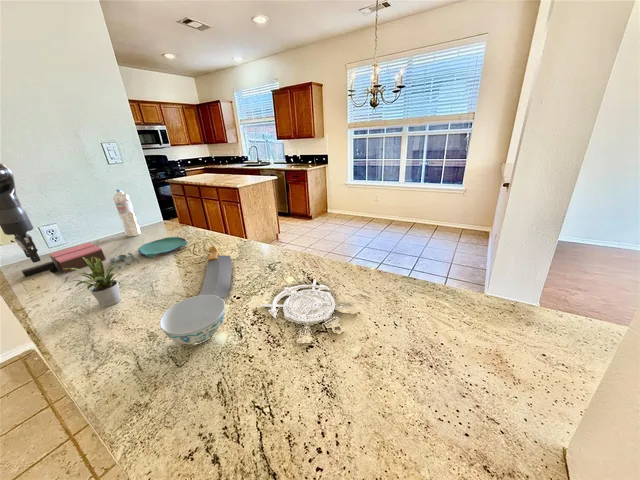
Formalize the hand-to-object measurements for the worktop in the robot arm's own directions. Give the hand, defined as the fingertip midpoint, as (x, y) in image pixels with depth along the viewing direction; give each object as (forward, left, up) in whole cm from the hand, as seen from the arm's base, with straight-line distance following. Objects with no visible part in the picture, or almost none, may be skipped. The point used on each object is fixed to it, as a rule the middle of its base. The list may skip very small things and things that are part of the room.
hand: (33, 259), depth 102 cm
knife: (+7, 0, -7) cm, 10 cm away
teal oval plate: (+33, -19, -7) cm, 39 cm away
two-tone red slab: (+12, 0, -7) cm, 14 cm away
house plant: (+6, -46, -7) cm, 47 cm away
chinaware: (+13, -87, -7) cm, 89 cm away
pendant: (+37, -105, -7) cm, 112 cm away
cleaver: (+37, -62, -7) cm, 73 cm away
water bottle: (+40, +16, -7) cm, 44 cm away
